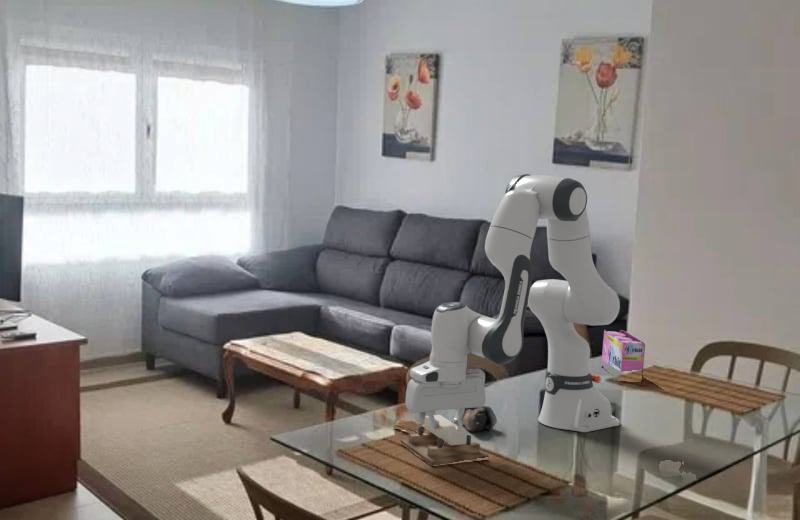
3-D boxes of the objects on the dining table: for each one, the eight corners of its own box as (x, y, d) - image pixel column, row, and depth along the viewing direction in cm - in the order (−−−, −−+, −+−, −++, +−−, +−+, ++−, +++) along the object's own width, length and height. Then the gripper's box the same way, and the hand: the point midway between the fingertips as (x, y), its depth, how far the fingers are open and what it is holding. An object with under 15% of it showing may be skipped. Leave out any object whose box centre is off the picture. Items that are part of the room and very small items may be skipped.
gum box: (599, 366, 314) (601, 328, 312) (620, 366, 314) (623, 329, 313) (619, 382, 290) (622, 342, 288) (643, 383, 290) (646, 343, 289)
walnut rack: (453, 438, 221) (454, 418, 221) (488, 460, 206) (489, 438, 205) (400, 444, 215) (401, 423, 214) (431, 467, 199) (432, 444, 199)
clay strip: (438, 426, 217) (439, 414, 217) (466, 443, 204) (466, 431, 204) (424, 427, 215) (425, 415, 215) (451, 445, 203) (451, 432, 202)
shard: (421, 440, 220) (422, 433, 220) (391, 438, 220) (391, 431, 220) (422, 427, 231) (422, 421, 231) (393, 426, 231) (394, 419, 231)
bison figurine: (466, 420, 239) (441, 425, 232) (468, 395, 238) (444, 399, 231) (500, 432, 230) (476, 437, 223) (503, 405, 230) (478, 410, 223)
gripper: (478, 365, 215) (475, 419, 217) (403, 370, 207) (401, 426, 208) (492, 371, 210) (488, 427, 211) (415, 376, 201) (412, 434, 203)
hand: (444, 427), depth 210 cm, fingers open, 4 cm apart
